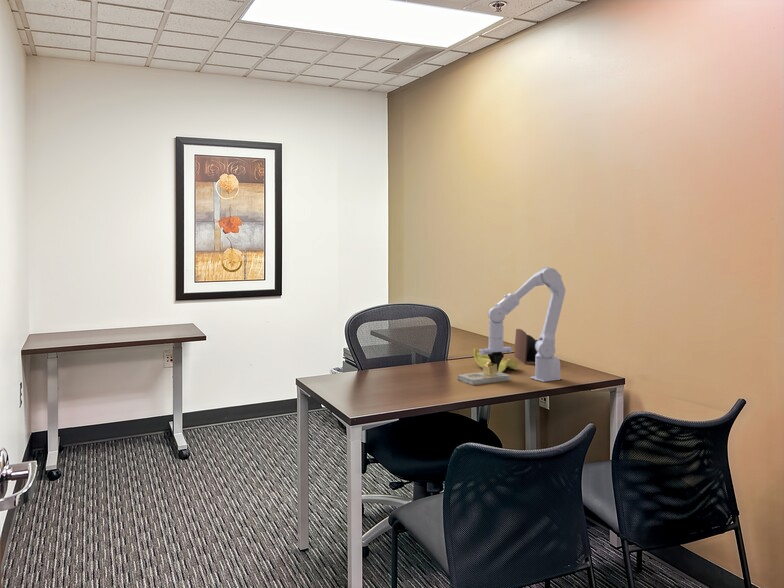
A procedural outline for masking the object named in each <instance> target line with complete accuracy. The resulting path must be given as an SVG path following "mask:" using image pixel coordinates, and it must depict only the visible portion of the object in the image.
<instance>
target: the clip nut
mask: <svg viewBox="0 0 784 588" xmlns="http://www.w3.org/2000/svg"><path fill="white" fill-rule="evenodd" d="M482 367H483V368H482ZM482 367H481V368H482V372H483V374H486V375H490V376H491V375H493V374H496V373H498V370H497V364H495V363H492V362H487V363H486V364H484V365H482Z"/></svg>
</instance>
